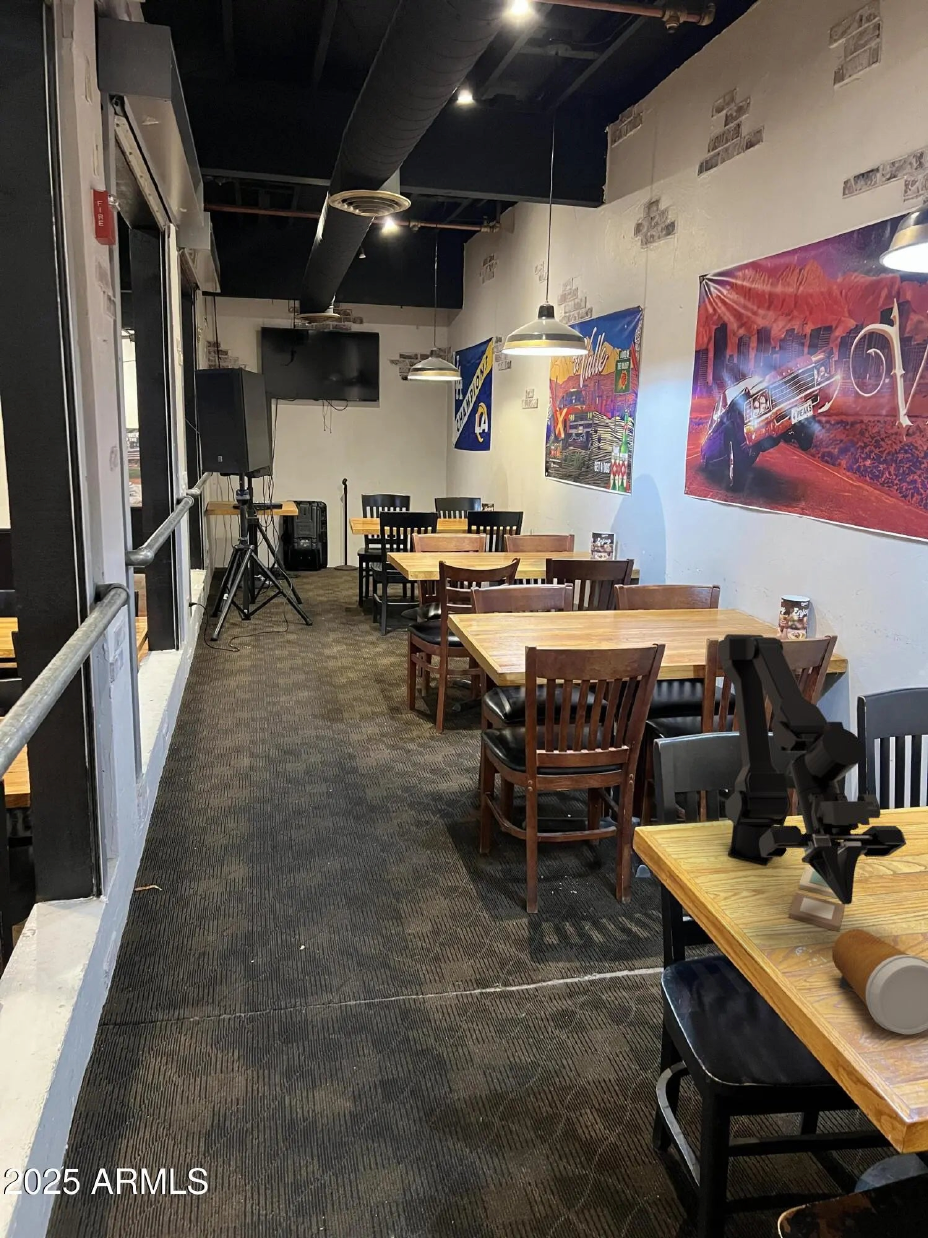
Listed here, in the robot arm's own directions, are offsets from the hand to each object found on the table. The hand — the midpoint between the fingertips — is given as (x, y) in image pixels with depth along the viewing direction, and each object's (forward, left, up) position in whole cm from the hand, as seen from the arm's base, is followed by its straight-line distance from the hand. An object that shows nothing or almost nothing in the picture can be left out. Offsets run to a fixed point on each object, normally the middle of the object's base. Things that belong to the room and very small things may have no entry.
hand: (847, 904), depth 113 cm
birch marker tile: (-4, +21, -9) cm, 23 cm away
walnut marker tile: (-4, +11, -9) cm, 15 cm away
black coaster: (+3, -4, -9) cm, 10 cm away
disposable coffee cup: (+2, -2, -5) cm, 6 cm away
